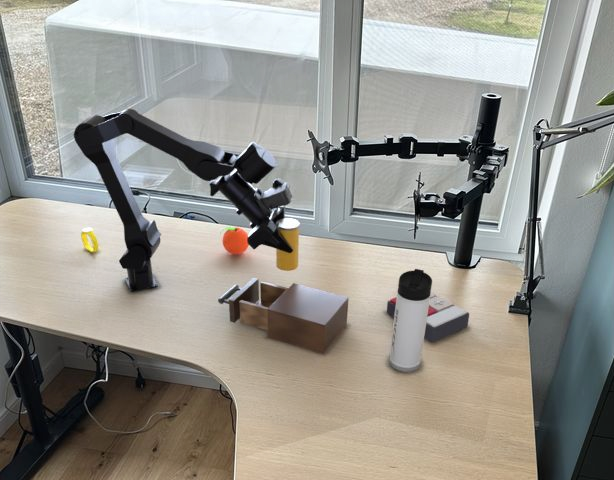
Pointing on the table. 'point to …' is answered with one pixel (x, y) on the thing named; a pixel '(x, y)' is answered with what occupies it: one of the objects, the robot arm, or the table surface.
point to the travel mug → (410, 320)
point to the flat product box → (439, 318)
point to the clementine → (235, 240)
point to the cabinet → (307, 317)
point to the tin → (291, 234)
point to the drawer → (252, 302)
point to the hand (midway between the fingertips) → (293, 246)
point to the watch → (93, 238)
